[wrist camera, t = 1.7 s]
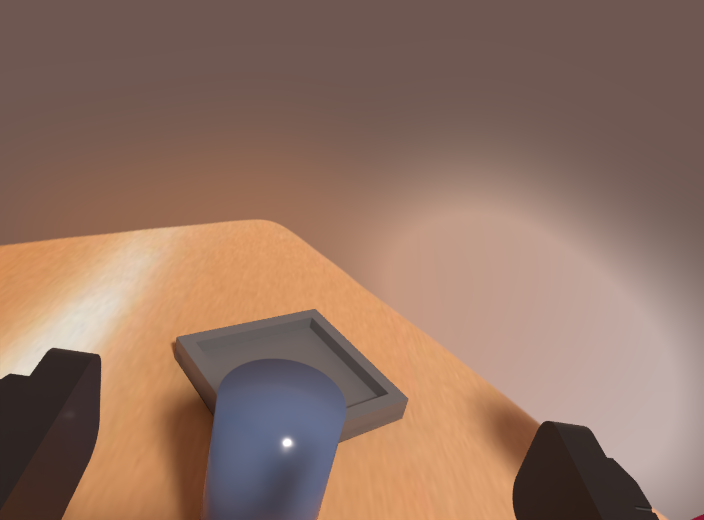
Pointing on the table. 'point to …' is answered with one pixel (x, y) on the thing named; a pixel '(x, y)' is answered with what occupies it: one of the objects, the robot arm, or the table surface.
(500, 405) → the table surface
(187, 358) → the tray
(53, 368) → the robot arm
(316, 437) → the blue-grey cylinder
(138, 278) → the table surface
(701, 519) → the pepper mill
